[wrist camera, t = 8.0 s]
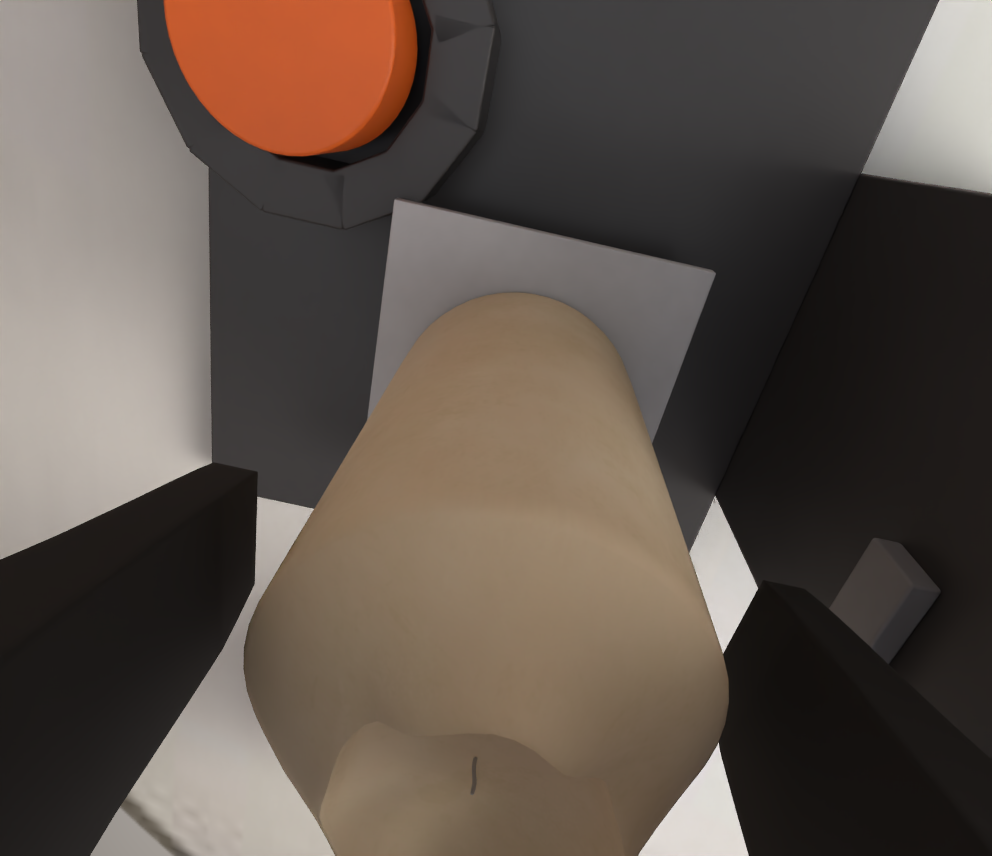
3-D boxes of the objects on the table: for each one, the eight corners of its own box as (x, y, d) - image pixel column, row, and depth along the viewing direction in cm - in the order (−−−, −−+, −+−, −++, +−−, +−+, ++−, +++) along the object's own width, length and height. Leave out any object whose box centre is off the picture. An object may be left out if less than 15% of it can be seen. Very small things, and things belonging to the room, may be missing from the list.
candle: (448, 247, 13) (237, 517, 4) (674, 348, 14) (923, 775, 5) (371, 449, 15) (132, 899, 6) (566, 527, 16) (594, 1033, 7)
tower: (836, 547, 20) (1188, 1052, 9) (384, 448, 19) (183, 858, 8) (1033, 216, 15) (2293, 449, 4) (437, 75, 14) (129, -71, 4)
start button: (404, 171, 13) (380, 179, 11) (220, 128, 13) (166, 129, 11) (432, -58, 11) (410, -94, 9) (219, -109, 11) (154, -157, 9)
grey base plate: (667, 562, 20) (686, 628, 18) (216, 465, 20) (165, 518, 17) (913, -2, 13) (1007, -33, 10) (210, -174, 13) (121, -255, 10)
